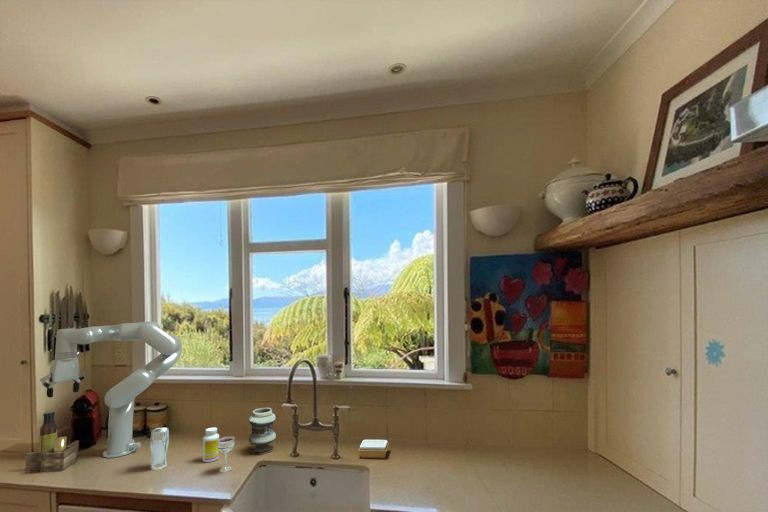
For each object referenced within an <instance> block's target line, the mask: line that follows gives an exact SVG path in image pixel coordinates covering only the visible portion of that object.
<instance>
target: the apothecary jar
mask: <svg viewBox="0 0 768 512" xmlns="http://www.w3.org/2000/svg"><path fill="white" fill-rule="evenodd" d="M276 418H277V417H276V414H275V413H273V409H272V408H271V407H261V408H259V407H258V408H256V409H254V410H252V415H251V416H250V417H249V419H248V421H249V424H250V425H251V434H249V437H248V442H249V443H250V444H251V445H253V446H254V447H253V448H251V450H250V452H251V454H253V455H257V454H258V455H263V454H267V453H270V452H272V451H273V450H274V447H273V446H272V445H270V444H271V443H273V442H274V441H275V439H276V437H277V434H276V432H275V431H274V422H275V420H276Z"/></svg>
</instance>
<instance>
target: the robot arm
mask: <svg viewBox="0 0 768 512" xmlns="http://www.w3.org/2000/svg"><path fill="white" fill-rule="evenodd" d="M55 337H56V340H55V353H54V359H53V360H51V362H50V363H51V364H50V367H49V372H48V374H47V375H45V376H43V377H41V378H40V379H39V382H40V383H41V384H42V386H43V387H45V388H46V396H47V398H53V397H54V386H55V385H56V384H59V383H63V382H64V383H65V382H70V381H71V382H72V381H73V382H74V383H73V384H72V385H73V386H72V392H73V393H79V390H80V384H81V382H82V381H83V380H84V379H85V377H86V375H87V374H88V373H87V371H84V370H81V369H80V364H79V363H80V362H79V358H78V357H77V356H78V355H80V352H79V351H77V349H78V345H88V344H92V343H98V342H106V341H107V342H110V341H116V342H117V341H118V342H131V341H143V342H144V343H145V344H146V345H148V346H150V347H151V348H152V349H154V350H155V351H157V352H158V353H159V355H156V357H155V358H153V359H152V360H150V361H149V362H148V363H147V364H145V365H144V366H141V367H140V368H138V369H136V370H135V371H133V372H132V373H131V374H130V375H128V376H126V377H125V378H124V379H122V380H121V381H120V382H118V383H117V384H115V385H114V386H113V387H112V388H110V389H109V390H108V391H107V392H106V394H105V395H104V404H105V405H106V407H108V408H109V413H108V425H107V427H108V428H107V446H106V447H107V448H106V450H104V451H103V452H102V458H103V457H104V458H109V459H110V458H118V457H123V456H126V455H129V454H131V453H133V452H134V451H136V449H139V448H141V447H142V444H141V441H139V442H138V441H137V442H135V439H133V430H134V429H133V427H134V426H133V423H134V410H135V409H134V408H135V400H136V397H137V396H138V395H140V394H142V393H143V392H144V391H145V390H147V389H148V388H149V387H150V386H151V385H152V384H153V383H154V382H155V381H156V380H157V379H158V378H159V377H161V376H162V375H164V374H165V373H166V372H167V371H169V370H170V369H171V368H172V367H173V366H174V365H175V364H176V363H177V361H178V360H179V358H180V356H181V354H182V352H183V345H182V340H181V339H180V338H179V336H176V335H169V334H168V333H167V332H165V331H164V330H162V329H161V325H160V324H159V323H158V322H156V321H141V322H129V323H118V324H112V325H111V324H109V325H98V326H97V325H95V326H88V327H87V326H86V327H83V328H71V327H70V328H60V329H58V330H57V331H56V336H55ZM47 381H48V382H47Z"/></svg>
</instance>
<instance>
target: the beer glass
mask: <svg viewBox="0 0 768 512" xmlns="http://www.w3.org/2000/svg"><path fill="white" fill-rule="evenodd" d="M149 441H150V442H149V447H150V454H151V464H150V468H149V469H150V470H152V471H157V470H161V469H164V468H165V467H167V466H168V462H167V453H168V448H169V445H170V444H169V442H170V429H169V427H167V426H166V427H157V428H154V429H152V430H151V432H150V439H149Z"/></svg>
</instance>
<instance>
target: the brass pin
mask: <svg viewBox="0 0 768 512" xmlns="http://www.w3.org/2000/svg"><path fill="white" fill-rule="evenodd" d="M67 439H68V436H59V437H58V436H57V438H56V439H55V440H54V452H63V451H65V450H66V446H67V441H68V440H67Z"/></svg>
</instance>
